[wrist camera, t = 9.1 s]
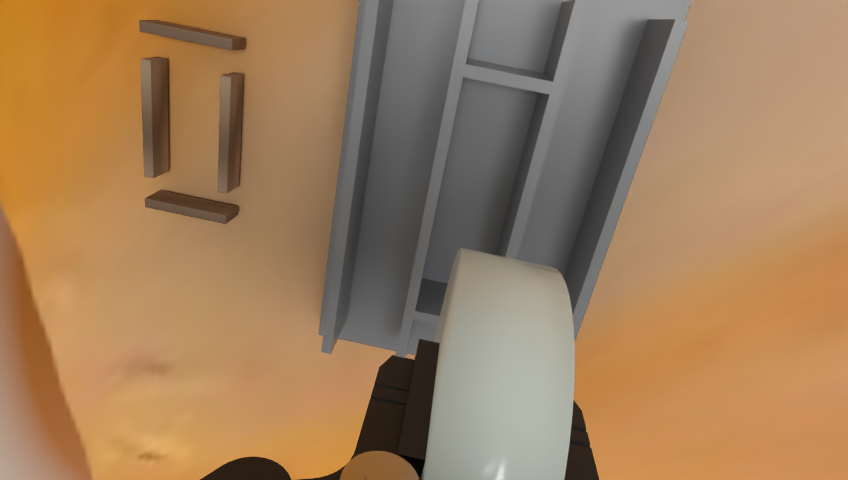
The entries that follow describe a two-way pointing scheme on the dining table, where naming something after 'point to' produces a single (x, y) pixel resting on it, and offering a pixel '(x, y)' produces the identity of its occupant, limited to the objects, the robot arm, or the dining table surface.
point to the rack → (486, 148)
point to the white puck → (502, 373)
